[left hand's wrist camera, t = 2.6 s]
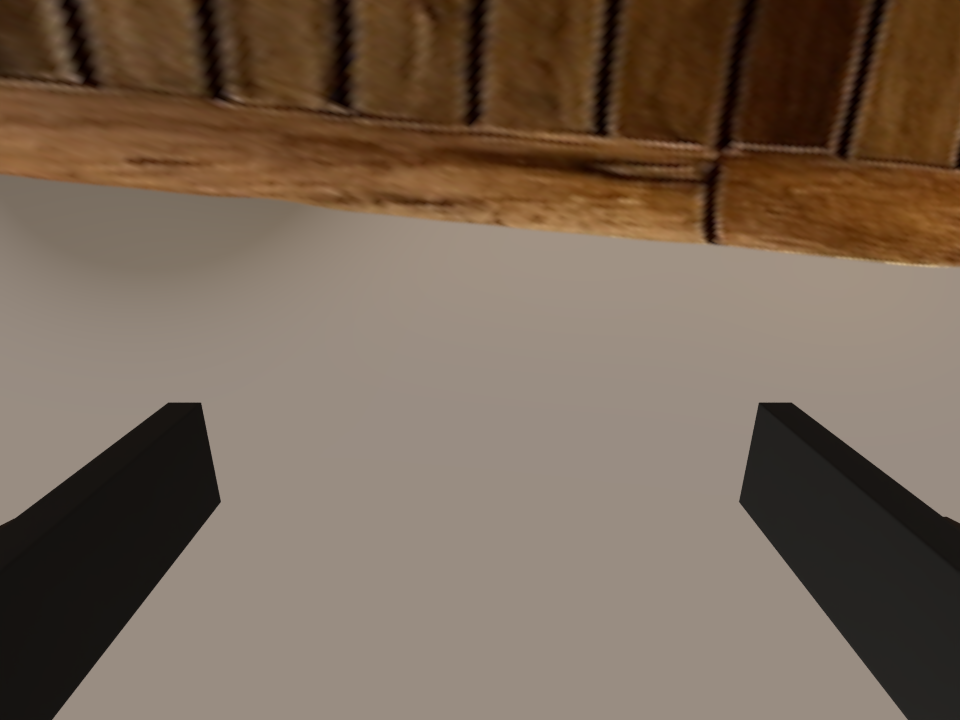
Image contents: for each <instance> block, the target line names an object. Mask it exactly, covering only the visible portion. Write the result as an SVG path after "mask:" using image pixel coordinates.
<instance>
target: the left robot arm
mask: <svg viewBox="0 0 960 720" xmlns="http://www.w3.org/2000/svg"><path fill="white" fill-rule="evenodd" d="M220 502H221V500H220V495H219V490H218V485H217V480H216V476H215V470H214V465H213V460H212V455H211V450H210V445H209V440H208V436H207V430H206V425H205V420H204V415H203V410H202V405H201V403H167V404H166V405H165V406H163V407H162V408H161V409H159V410H158V411H157V412H155V413H154V414H153V415H151V416H150V417H149V418H147V419H146V420H145V421H144V422H142V423H141V424H140V425H138V426H137V427H136V428H134V429H133V430H132V431H130V432H129V433H128V434H126V435H125V436H124V437H122V438H121V439H120V440H118V441H117V442H116V443H114V444H113V445H112V446H110V447H109V448H108V449H106V450H105V451H104V452H102V453H101V454H100V455H99V456H97V457H96V458H95V459H93V460H92V461H91V462H89V463H88V464H87V465H85V466H84V467H83V468H81V469H80V470H79V471H77V472H76V473H75V474H73V475H72V476H71V477H69V478H68V479H67V480H65V481H64V482H63V483H61V484H60V485H59V486H57V487H56V488H55V489H53V490H52V491H51V492H50V493H48V494H47V495H46V496H44V497H43V498H42V499H40V500H39V501H38V502H36V503H35V504H34V505H32V506H31V507H30V508H28V509H27V510H26V511H24V512H23V513H22V514H20V515H19V516H18V517H16V518H15V519H13V520H11V521H9V522H7V523H5V524H3V525H1V526H0V720H52V719H53V718H54V717H55V715H56V714H57V713H58V711H59V710H60V709H61V707H62V706H63V705H64V704H65V702H66V701H67V700H68V698H69V697H70V696H71V695H72V693H73V692H74V691H75V689H76V688H77V687H78V686H79V684H80V683H81V682H82V680H83V679H84V678H85V677H86V675H87V674H88V673H89V671H90V670H91V669H92V668H93V666H94V665H95V664H96V662H97V661H98V660H99V658H100V657H101V656H102V655H103V653H104V652H105V651H106V649H107V648H108V647H109V646H110V644H111V643H112V642H113V640H114V639H115V638H116V636H117V635H118V634H119V633H120V631H121V630H122V629H123V627H124V626H125V625H126V624H127V622H128V621H129V620H130V618H131V617H132V616H133V615H134V613H135V612H136V611H137V609H138V608H139V607H140V606H141V604H142V603H143V602H144V600H145V599H146V598H147V596H148V595H149V594H150V593H151V591H152V590H153V589H154V587H155V586H156V585H157V584H158V582H159V581H160V580H161V578H162V577H163V576H164V575H165V573H166V572H167V571H168V569H169V568H170V567H171V566H172V564H173V563H174V562H175V560H176V559H177V558H178V557H179V555H180V554H181V553H182V551H183V550H184V549H185V547H186V546H187V545H188V544H189V542H190V541H191V540H192V538H193V537H194V536H195V534H196V533H197V532H198V531H199V529H200V528H201V527H202V525H203V524H204V523H205V522H206V520H207V519H208V518H209V517H210V515H211V514H212V513H213V511H214V510H215V509H216V507H217V506H218V505H219V504H220ZM739 502H740V504H741V505H742V506H743V507H744V509H745V510H746V511H747V513H748V514H749V515H750V517H751V518H752V519H753V520H754V522H755V523H756V524H757V526H758V527H759V528H760V529H761V531H762V532H763V533H764V535H765V536H766V537H767V538H768V540H769V541H770V542H771V544H772V545H773V546H774V547H775V549H776V550H777V551H778V553H779V554H780V555H781V556H782V558H783V559H784V560H785V562H786V563H787V564H788V565H789V567H790V568H791V569H792V571H793V572H794V573H795V575H796V576H797V577H798V578H799V580H800V581H801V582H802V584H803V585H804V586H805V587H806V589H807V590H808V591H809V593H810V594H811V595H812V596H813V598H814V599H815V600H816V602H817V603H818V604H819V606H820V607H821V608H822V609H823V611H824V612H825V613H826V615H827V616H828V617H829V618H830V620H831V621H832V622H833V624H834V625H835V626H836V627H837V629H838V630H839V631H840V633H841V634H842V635H843V637H844V638H845V639H846V640H847V642H848V643H849V644H850V646H851V647H852V648H853V649H854V651H855V652H856V653H857V655H858V656H859V657H860V658H861V660H862V661H863V662H864V664H865V665H866V666H867V668H868V669H869V670H870V671H871V673H872V674H873V675H874V677H875V678H876V679H877V680H878V682H879V683H880V684H881V686H882V687H883V688H884V689H885V691H886V692H887V693H888V695H889V696H890V697H891V698H892V700H893V701H894V702H895V704H896V705H897V706H898V708H899V709H900V710H901V711H902V713H903V714H904V715H905V717H906V718H907V719H908V720H960V523H958V522H956V521H954V520H952V519H950V518H948V517H942V516H941V515H940V514H938V513H937V512H936V511H934V510H933V509H932V508H930V507H929V506H928V505H926V504H925V503H924V502H922V501H921V500H920V499H918V498H917V497H916V496H914V495H913V494H912V493H910V492H909V491H908V490H907V489H905V488H904V487H903V486H901V485H900V484H899V483H897V482H896V481H895V480H893V479H892V478H891V477H889V476H888V475H887V474H885V473H884V472H883V471H881V470H880V469H879V468H877V467H876V466H875V465H873V464H872V463H871V462H869V461H868V460H867V459H865V458H864V457H863V456H861V455H860V454H859V453H858V452H856V451H855V450H853V449H852V448H851V447H849V446H848V445H847V444H846V443H844V442H843V441H842V440H840V439H839V438H838V437H836V436H835V435H834V434H832V433H831V432H830V431H828V430H827V429H826V428H824V427H823V426H822V425H820V424H819V423H818V422H816V421H815V420H814V419H813V418H811V417H810V416H808V415H807V414H806V413H805V412H803V411H802V410H801V409H799V408H798V407H797V406H795V405H794V404H793V403H759V405H758V410H757V415H756V420H755V425H754V430H753V435H752V440H751V445H750V450H749V455H748V460H747V465H746V470H745V475H744V480H743V485H742V490H741V495H740V500H739Z"/></svg>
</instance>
